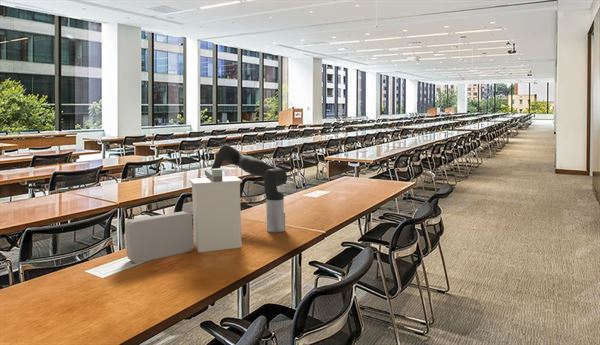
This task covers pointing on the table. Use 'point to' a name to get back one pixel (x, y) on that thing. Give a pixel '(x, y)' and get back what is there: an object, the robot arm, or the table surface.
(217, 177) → the bar
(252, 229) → the table surface
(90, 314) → the table surface
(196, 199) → the tall stand
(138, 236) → the rounded white slab
